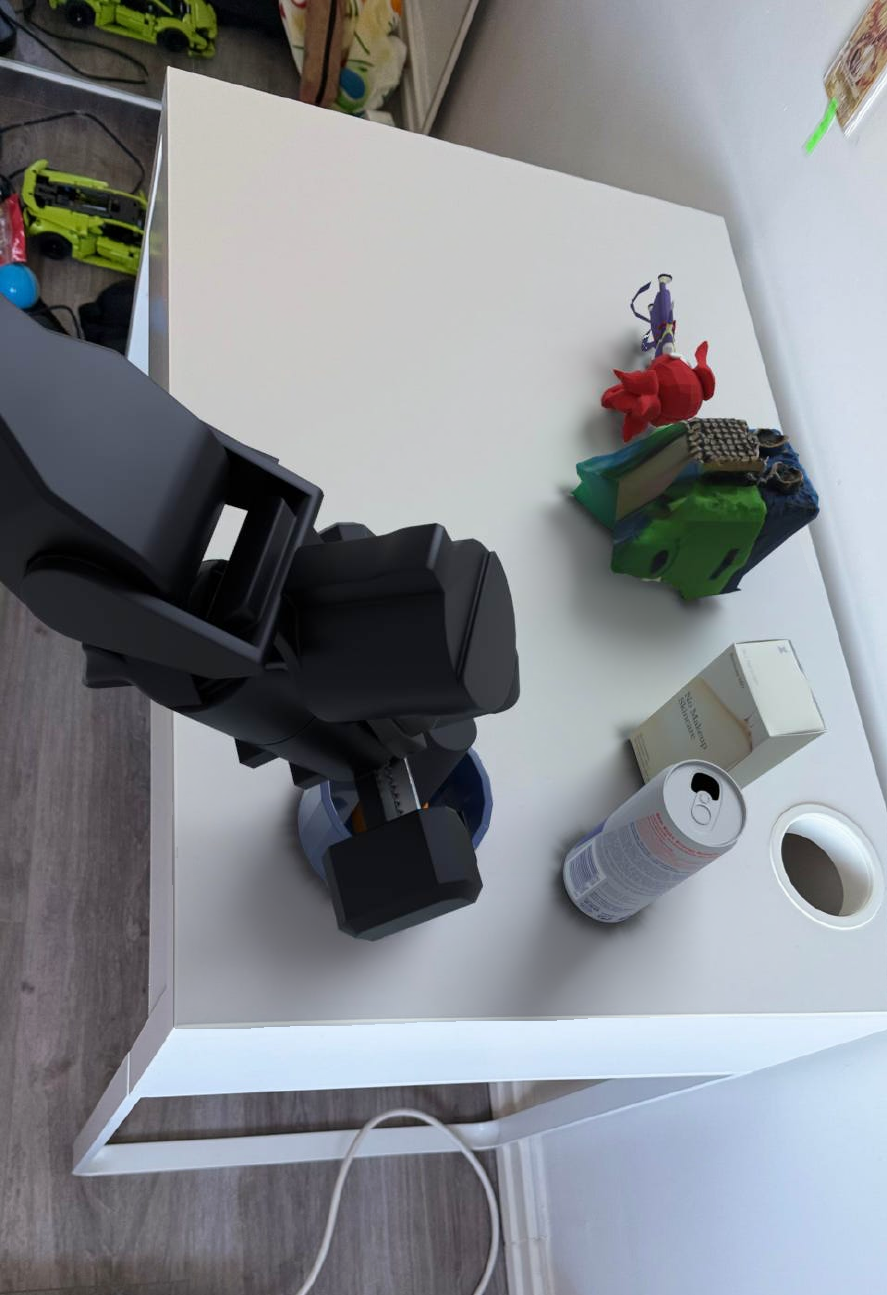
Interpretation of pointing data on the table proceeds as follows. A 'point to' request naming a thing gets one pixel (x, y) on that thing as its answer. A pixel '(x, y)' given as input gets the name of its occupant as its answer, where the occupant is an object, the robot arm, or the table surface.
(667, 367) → the figurine
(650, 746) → the cosmetic box
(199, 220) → the table surface
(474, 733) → the scrub stick
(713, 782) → the energy drink
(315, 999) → the table surface
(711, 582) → the sculpture
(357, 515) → the table surface
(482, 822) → the blue plastic pot
